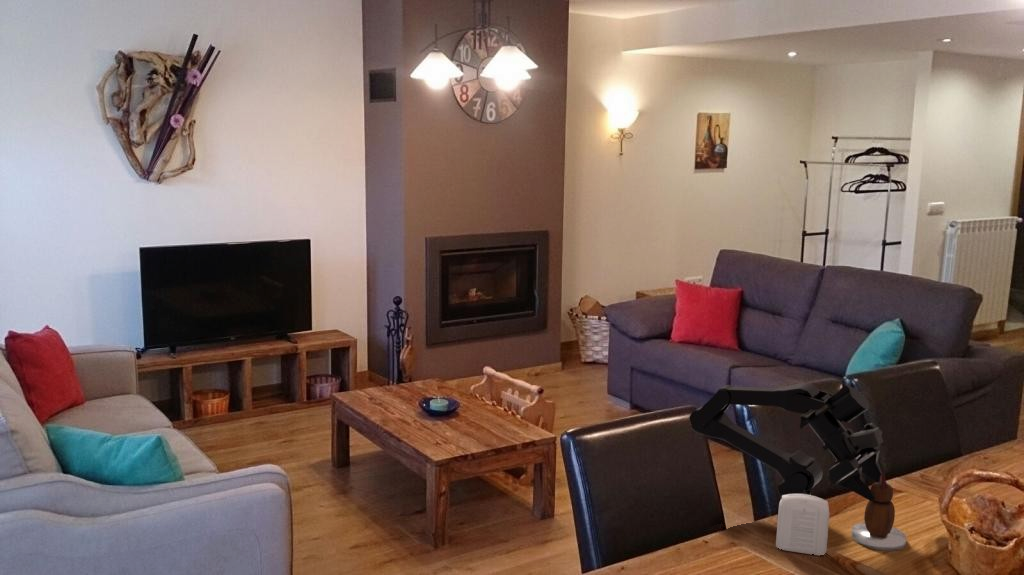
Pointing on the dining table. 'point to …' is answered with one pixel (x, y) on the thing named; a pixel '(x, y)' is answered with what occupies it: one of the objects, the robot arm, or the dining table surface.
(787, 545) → the white upright block
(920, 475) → the dining table surface
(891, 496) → the wooden figurine
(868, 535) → the plate
